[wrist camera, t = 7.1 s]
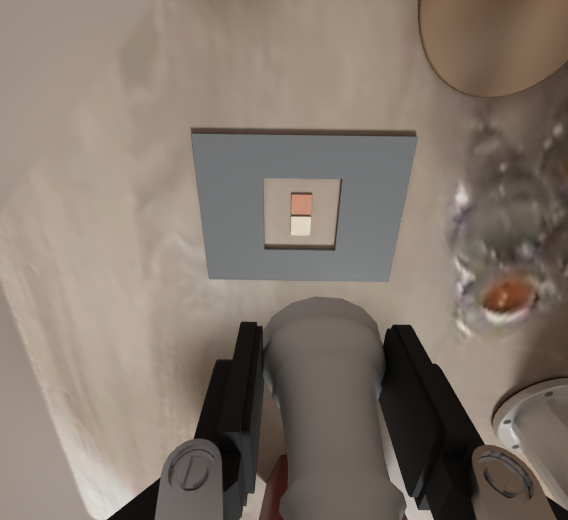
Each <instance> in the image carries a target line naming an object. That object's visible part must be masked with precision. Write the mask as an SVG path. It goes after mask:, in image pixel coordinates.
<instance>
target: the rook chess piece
mask: <svg viewBox="0 0 568 520" xmlns="http://www.w3.org/2000/svg"><path fill="white" fill-rule="evenodd" d="M385 371H386V357H385V353H384V349H383V344H382V341H381V339H380V335H379V330H378V326H377V323H376V322H375V321H374V320H373V319H372V318H371V316H370V315H369V314H368V313H367V312H366V311H365V310H364V309H363V308H361V307H359V306H357V305H355V304H352V303H350V302H348V301H346V300H343V299H339V298H326V297H313V298H309V299H305V300H302V301H298V302H294V303H291V304H290V305H288V306H287V307H286V308H284V309H283V310H281V311H280V312H278V313H277V314H275V315H274V316H273V317H272V318H271V320H270V322H269V323H268V325H267V327H266V328H265V330H264V331H263V351H262V374H263V378H264V380H265V382H266V384H267V386H268V388H269V390H270V391H271V393H272V397H273V399H274V400H275V402H276V404H277V406H278V408H279V409H280V410H281V414H282V418H283V426H284V435H285V443H286V451H287V459H288V489H287V490H286V492H285V493H284V495H283V496H282V497H281V499H280V506H279V513H280V514H281V516H282V517H283V519H284V520H402V517H403V515H404V512H405V509H406V502H405V498H404V495H403V493H402V492H401V491H400V490H399V489H398V488H397V487H396V486H395V485H394V484H393V483H392V482H390V478H389V475H388V471H387V467H386V464H385V460H384V455H383V448H382V441H381V433H380V426H379V419H378V412H377V402H378V399H379V396H380V393H381V390H382V385H381V383H382V380H383V377H384V374H385Z"/></svg>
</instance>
